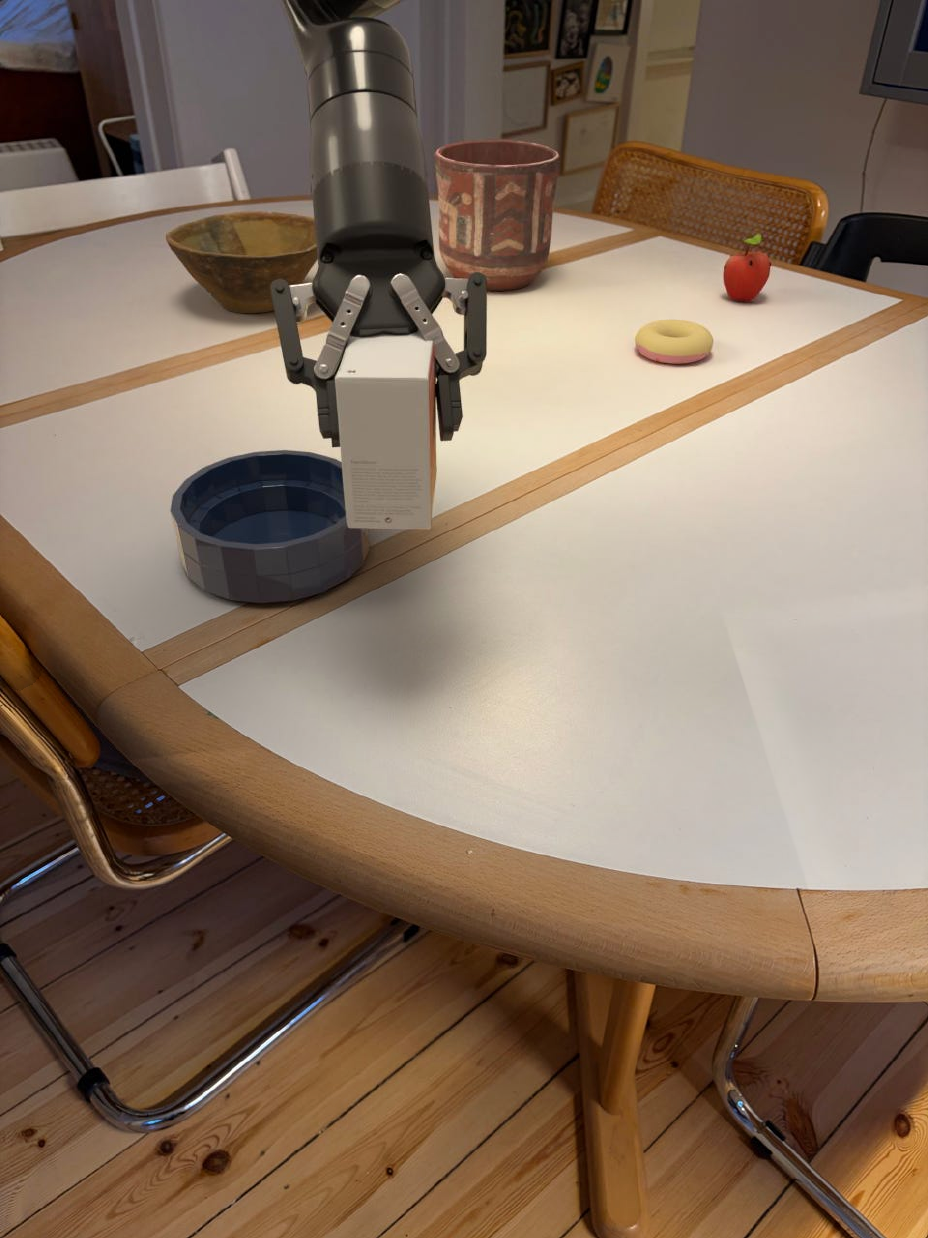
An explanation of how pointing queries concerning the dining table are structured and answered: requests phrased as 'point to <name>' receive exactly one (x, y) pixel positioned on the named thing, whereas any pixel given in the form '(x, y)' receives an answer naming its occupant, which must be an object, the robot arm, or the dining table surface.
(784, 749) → the dining table surface
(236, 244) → the bowl
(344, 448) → the small box
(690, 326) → the donut
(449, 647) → the dining table surface
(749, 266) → the apple
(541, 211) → the pottery
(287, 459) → the glazed bowl
